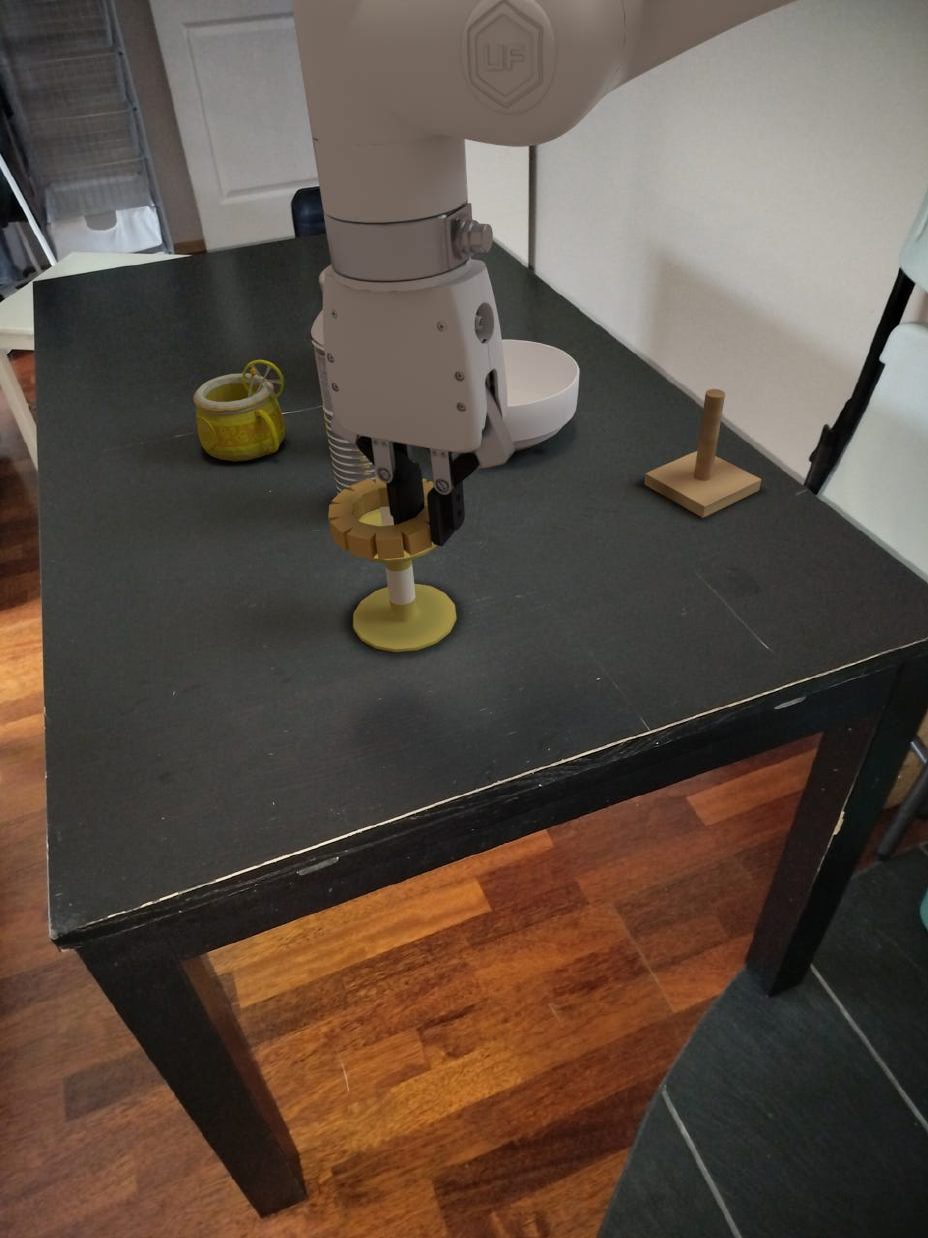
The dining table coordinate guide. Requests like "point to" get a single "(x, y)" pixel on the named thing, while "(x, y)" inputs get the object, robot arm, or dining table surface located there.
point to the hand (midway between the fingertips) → (428, 528)
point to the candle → (402, 604)
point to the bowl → (538, 391)
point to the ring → (376, 538)
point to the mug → (240, 415)
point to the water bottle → (344, 455)
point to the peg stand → (704, 469)
